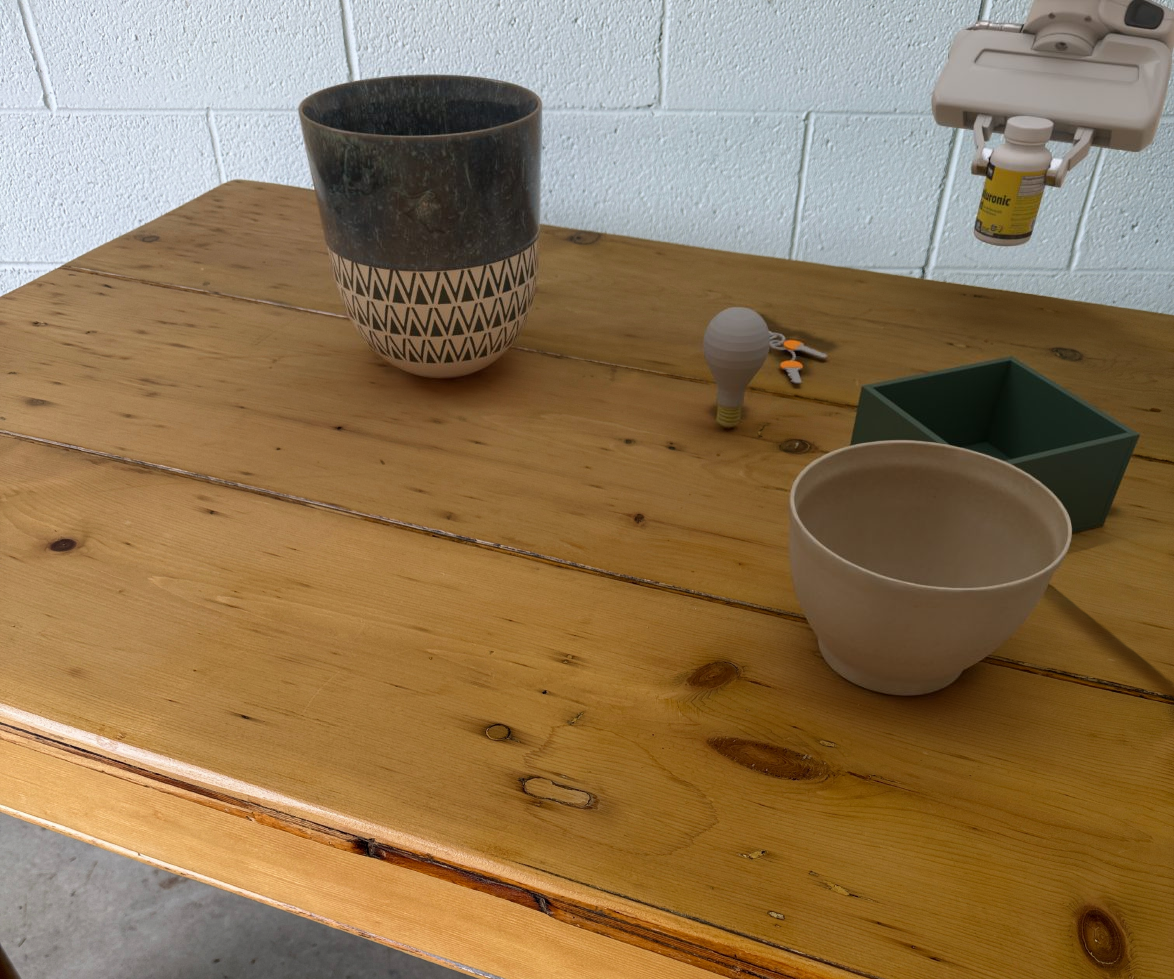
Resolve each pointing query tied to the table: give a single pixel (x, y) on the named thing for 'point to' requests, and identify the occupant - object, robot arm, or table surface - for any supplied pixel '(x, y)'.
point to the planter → (430, 213)
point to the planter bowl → (919, 558)
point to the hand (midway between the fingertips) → (1015, 177)
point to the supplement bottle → (1015, 183)
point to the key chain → (791, 346)
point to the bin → (1008, 428)
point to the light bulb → (734, 357)
